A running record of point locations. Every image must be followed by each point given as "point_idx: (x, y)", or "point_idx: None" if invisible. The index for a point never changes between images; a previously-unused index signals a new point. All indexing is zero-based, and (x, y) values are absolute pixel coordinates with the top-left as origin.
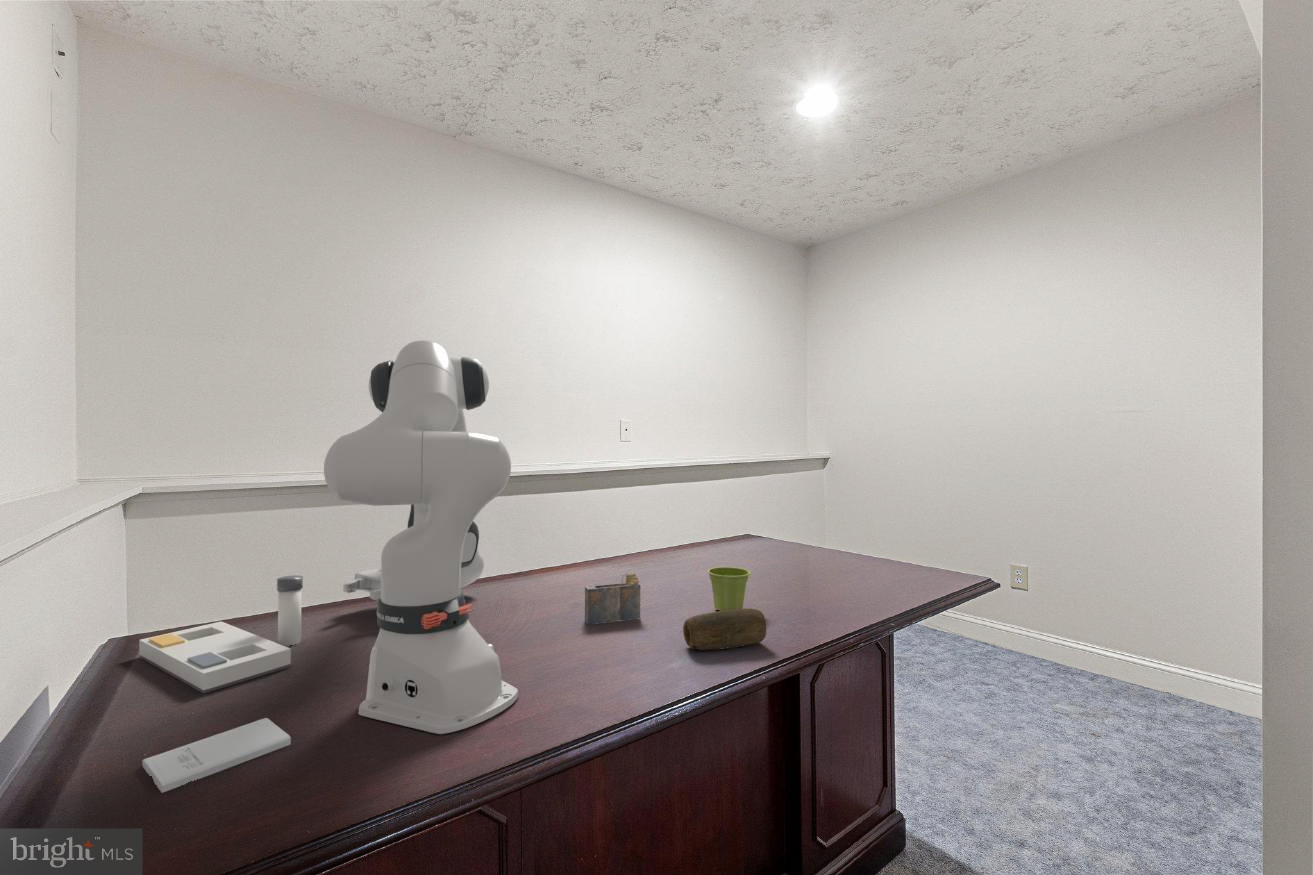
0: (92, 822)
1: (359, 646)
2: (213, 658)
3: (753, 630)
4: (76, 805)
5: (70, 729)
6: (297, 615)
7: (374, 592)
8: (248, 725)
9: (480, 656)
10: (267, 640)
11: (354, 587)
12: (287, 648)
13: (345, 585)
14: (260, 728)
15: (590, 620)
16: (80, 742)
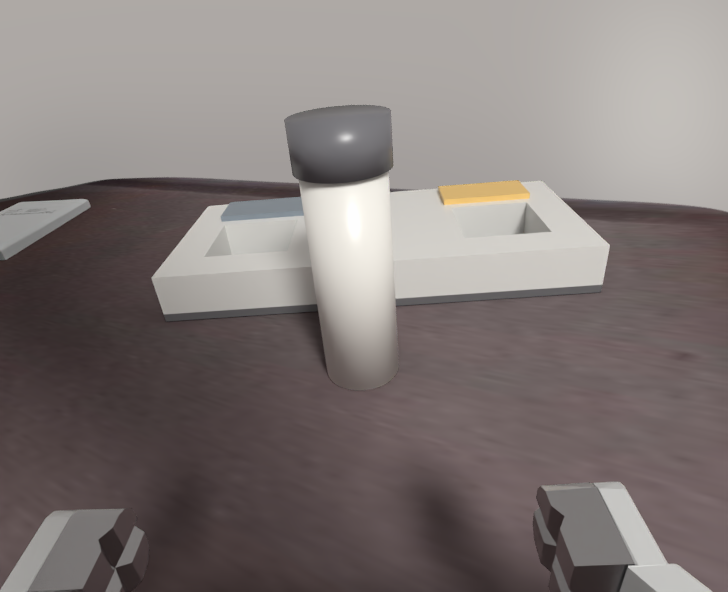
0: (46, 193)
1: (57, 480)
2: (256, 209)
3: None
4: (88, 190)
5: (269, 187)
6: (315, 282)
7: (55, 513)
8: (8, 238)
9: None
10: (280, 267)
11: (573, 589)
12: (162, 275)
13: (580, 484)
14: None
15: None
16: (219, 190)
